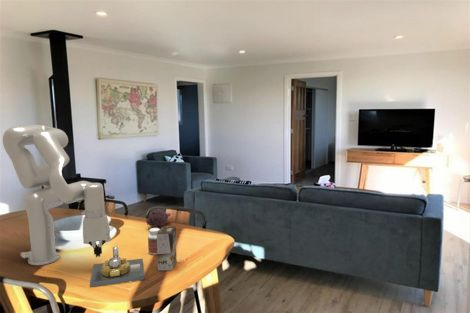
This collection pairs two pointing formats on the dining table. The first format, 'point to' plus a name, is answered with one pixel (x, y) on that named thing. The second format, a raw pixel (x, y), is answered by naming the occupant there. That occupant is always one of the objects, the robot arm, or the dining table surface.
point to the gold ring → (115, 272)
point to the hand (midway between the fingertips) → (98, 255)
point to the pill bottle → (152, 241)
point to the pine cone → (157, 218)
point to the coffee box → (166, 248)
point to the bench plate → (132, 275)
